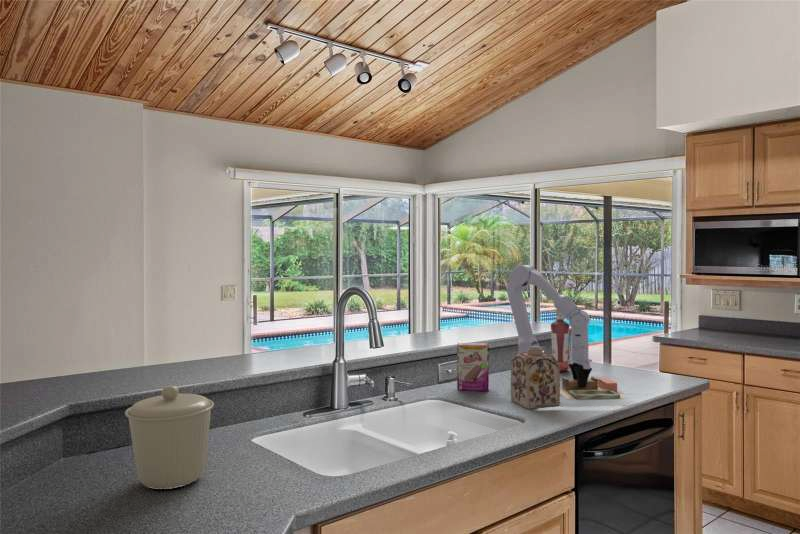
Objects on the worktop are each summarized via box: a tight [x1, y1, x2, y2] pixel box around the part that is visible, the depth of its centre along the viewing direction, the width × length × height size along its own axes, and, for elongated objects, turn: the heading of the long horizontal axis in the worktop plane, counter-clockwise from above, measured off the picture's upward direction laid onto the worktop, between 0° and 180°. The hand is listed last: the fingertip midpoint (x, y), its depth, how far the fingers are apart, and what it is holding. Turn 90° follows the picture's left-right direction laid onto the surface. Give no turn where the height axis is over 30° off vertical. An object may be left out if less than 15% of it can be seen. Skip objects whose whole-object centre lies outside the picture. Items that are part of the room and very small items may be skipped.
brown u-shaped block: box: [561, 376, 598, 391], centre depth 202 cm, size 11×4×4 cm, turn 91°
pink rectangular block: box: [597, 377, 618, 392], centre depth 202 cm, size 4×8×3 cm, turn 1°
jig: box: [560, 386, 629, 400], centre depth 198 cm, size 20×16×2 cm
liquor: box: [550, 309, 570, 373], centre depth 238 cm, size 7×7×28 cm
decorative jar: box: [510, 347, 561, 410], centre depth 189 cm, size 12×12×18 cm
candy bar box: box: [456, 342, 490, 392], centre depth 208 cm, size 11×5×16 cm, turn 84°
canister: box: [124, 385, 215, 488], centre depth 128 cm, size 18×18×21 cm
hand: (579, 385), depth 202 cm, fingers open, 4 cm apart
